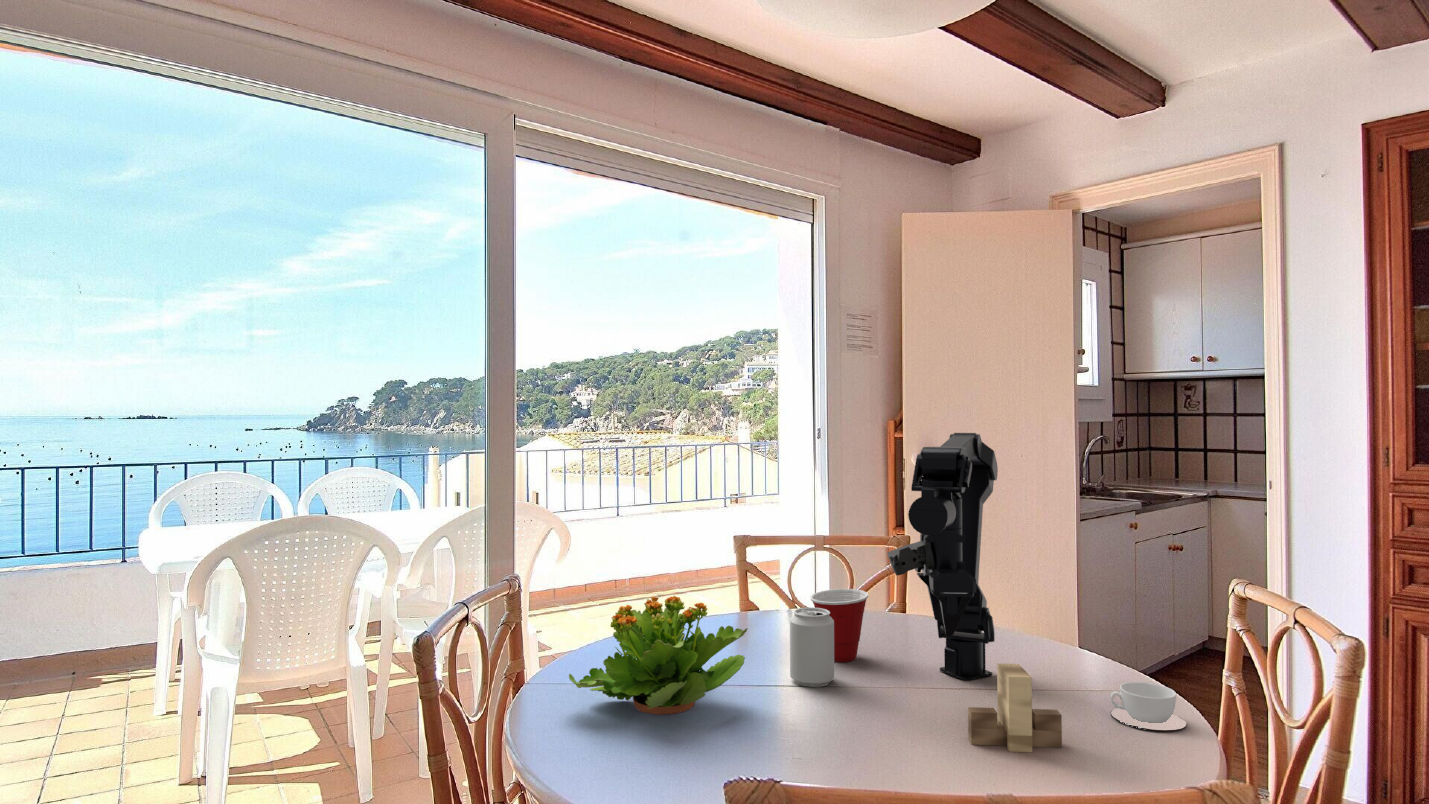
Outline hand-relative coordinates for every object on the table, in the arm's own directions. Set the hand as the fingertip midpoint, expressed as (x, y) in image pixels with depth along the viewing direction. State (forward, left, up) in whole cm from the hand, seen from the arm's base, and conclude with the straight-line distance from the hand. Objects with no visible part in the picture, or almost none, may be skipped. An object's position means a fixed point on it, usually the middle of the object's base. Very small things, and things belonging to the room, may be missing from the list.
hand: (943, 627), depth 129 cm
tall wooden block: (+2, +16, -12) cm, 20 cm away
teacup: (-22, +19, -12) cm, 32 cm away
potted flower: (+38, -20, -12) cm, 45 cm away
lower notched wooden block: (+2, +16, -12) cm, 20 cm away
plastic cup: (0, -28, -12) cm, 31 cm away
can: (+12, -19, -12) cm, 26 cm away
